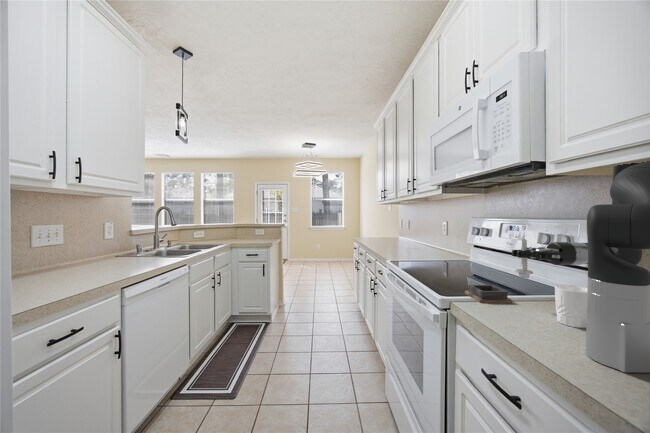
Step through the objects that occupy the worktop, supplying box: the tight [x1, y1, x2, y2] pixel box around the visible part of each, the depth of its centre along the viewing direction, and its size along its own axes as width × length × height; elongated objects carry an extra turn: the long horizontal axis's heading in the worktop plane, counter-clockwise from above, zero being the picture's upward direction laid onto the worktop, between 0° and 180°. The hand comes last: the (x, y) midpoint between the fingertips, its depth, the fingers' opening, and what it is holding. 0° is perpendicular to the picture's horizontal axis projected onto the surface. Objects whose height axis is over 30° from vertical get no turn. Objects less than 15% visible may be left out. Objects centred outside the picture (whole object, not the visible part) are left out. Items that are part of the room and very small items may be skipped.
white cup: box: [554, 284, 588, 329], centre depth 80 cm, size 8×8×10 cm
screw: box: [514, 238, 534, 280], centre depth 93 cm, size 13×5×5 cm
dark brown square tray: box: [464, 284, 513, 304], centre depth 103 cm, size 11×11×4 cm
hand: (515, 253), depth 93 cm, fingers closed on screw, 2 cm apart
